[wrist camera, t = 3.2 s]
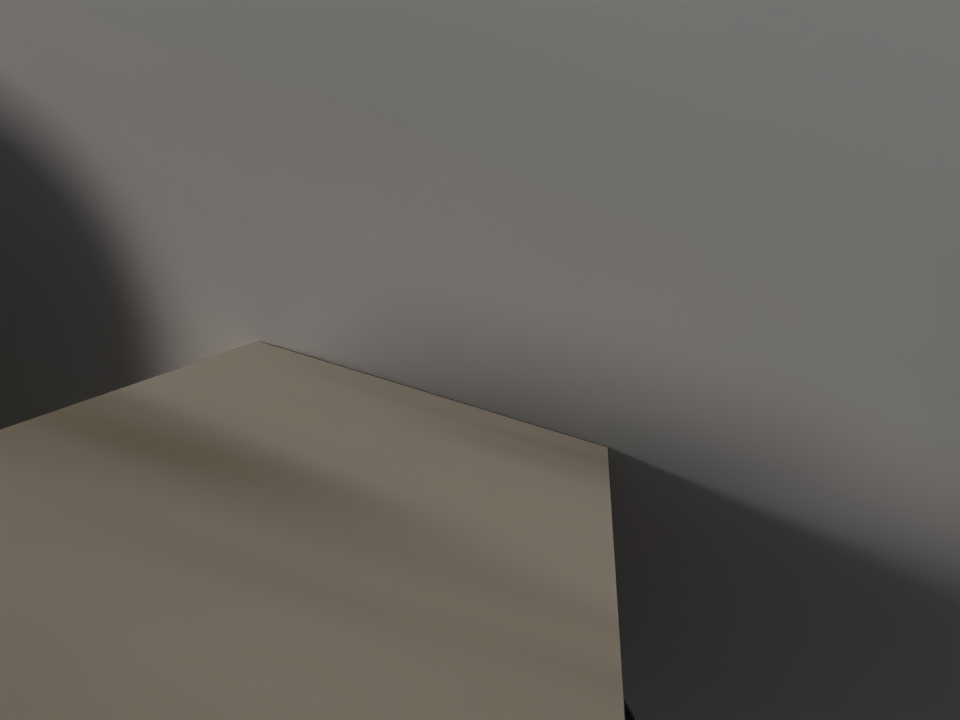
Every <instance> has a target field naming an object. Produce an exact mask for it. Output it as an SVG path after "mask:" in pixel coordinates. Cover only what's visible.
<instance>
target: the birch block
mask: <svg viewBox="0 0 960 720" xmlns="http://www.w3.org/2000/svg"><path fill="white" fill-rule="evenodd" d="M0 720H625V714H624V699H623V683H622V667H621V652H620V636H619V620H618V605H617V589H616V573H615V558H614V542H613V526H612V511H611V495H610V479H609V464H608V448H607V447H604V446H601V445H598V444H595V443H591V442H588V441H585V440H581V439H578V438H575V437H571V436H568V435H565V434H562V433H558V432H555V431H552V430H548V429H545V428H542V427H539V426H535V425H532V424H529V423H525V422H522V421H519V420H516V419H512V418H509V417H506V416H502V415H499V414H496V413H493V412H489V411H486V410H483V409H479V408H476V407H473V406H470V405H466V404H463V403H460V402H456V401H453V400H450V399H447V398H443V397H440V396H437V395H433V394H430V393H427V392H424V391H420V390H417V389H414V388H410V387H407V386H404V385H401V384H397V383H394V382H391V381H387V380H384V379H381V378H378V377H374V376H371V375H368V374H364V373H361V372H358V371H354V370H351V369H348V368H345V367H341V366H338V365H335V364H331V363H328V362H325V361H322V360H318V359H315V358H312V357H308V356H305V355H302V354H299V353H295V352H292V351H289V350H285V349H282V348H279V347H276V346H272V345H269V344H266V343H262V342H259V341H258V342H255V343H252V344H249V345H246V346H243V347H240V348H237V349H234V350H231V351H229V352H226V353H223V354H220V355H217V356H214V357H211V358H208V359H205V360H202V361H199V362H196V363H193V364H191V365H188V366H185V367H182V368H179V369H176V370H173V371H170V372H167V373H164V374H161V375H158V376H155V377H153V378H150V379H147V380H144V381H141V382H138V383H135V384H132V385H129V386H126V387H123V388H120V389H117V390H115V391H112V392H109V393H106V394H103V395H100V396H97V397H94V398H91V399H88V400H85V401H82V402H79V403H77V404H74V405H71V406H68V407H65V408H62V409H59V410H56V411H53V412H50V413H47V414H44V415H41V416H39V417H36V418H33V419H30V420H27V421H24V422H21V423H18V424H15V425H12V426H9V427H6V428H3V429H1V430H0Z"/></svg>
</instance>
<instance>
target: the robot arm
mask: <svg viewBox="0 0 960 720" xmlns="http://www.w3.org/2000/svg"><path fill="white" fill-rule="evenodd" d="M623 699H624V698H623ZM624 714H625V720H635V718H634V716H633V714H632V713H631V711H630V709H629V707H628V706H627V704H626V702H625V700H624Z"/></svg>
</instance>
